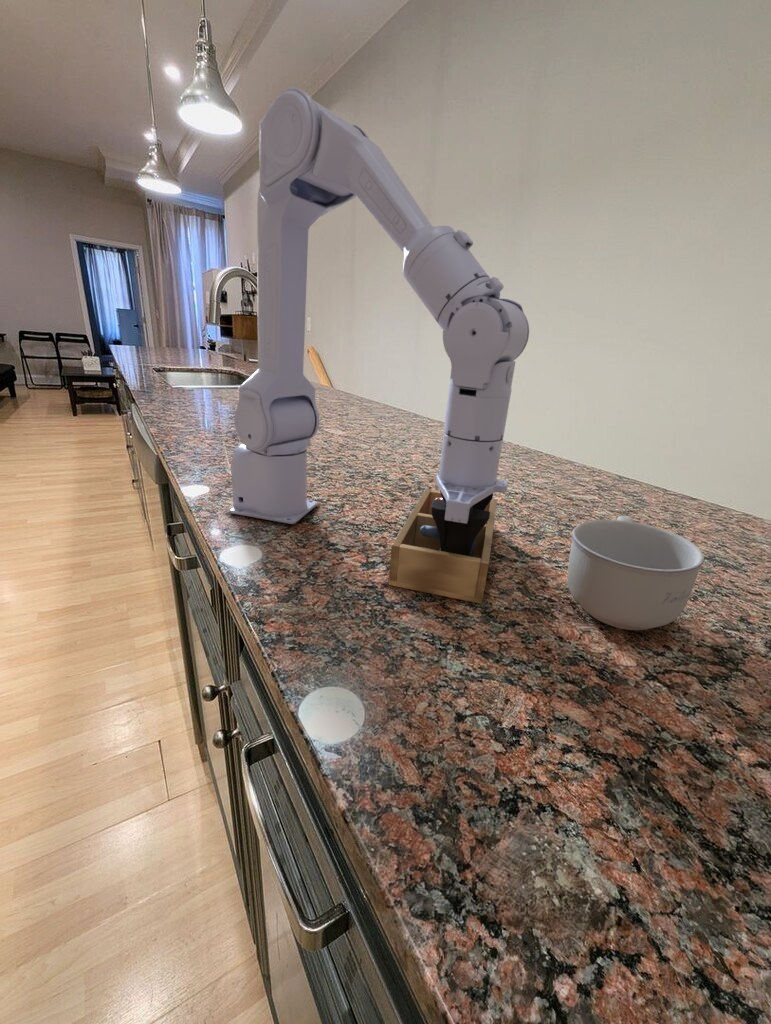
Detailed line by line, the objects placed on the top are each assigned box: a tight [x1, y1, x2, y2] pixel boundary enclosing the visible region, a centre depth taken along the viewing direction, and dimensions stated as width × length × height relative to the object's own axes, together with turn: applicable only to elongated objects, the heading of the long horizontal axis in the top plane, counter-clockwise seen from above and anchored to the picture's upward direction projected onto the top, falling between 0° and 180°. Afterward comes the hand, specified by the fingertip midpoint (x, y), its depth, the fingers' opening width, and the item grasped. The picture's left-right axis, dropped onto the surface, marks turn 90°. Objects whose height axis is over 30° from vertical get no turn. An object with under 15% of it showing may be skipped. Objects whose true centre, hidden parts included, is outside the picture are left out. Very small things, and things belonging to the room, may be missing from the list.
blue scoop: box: [420, 525, 476, 557], centre depth 48 cm, size 6×4×5 cm, turn 75°
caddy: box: [388, 488, 498, 605], centre depth 52 cm, size 10×18×5 cm, turn 165°
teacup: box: [566, 515, 705, 631], centre depth 44 cm, size 14×11×8 cm
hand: (455, 558), depth 48 cm, fingers closed on blue scoop, 4 cm apart
